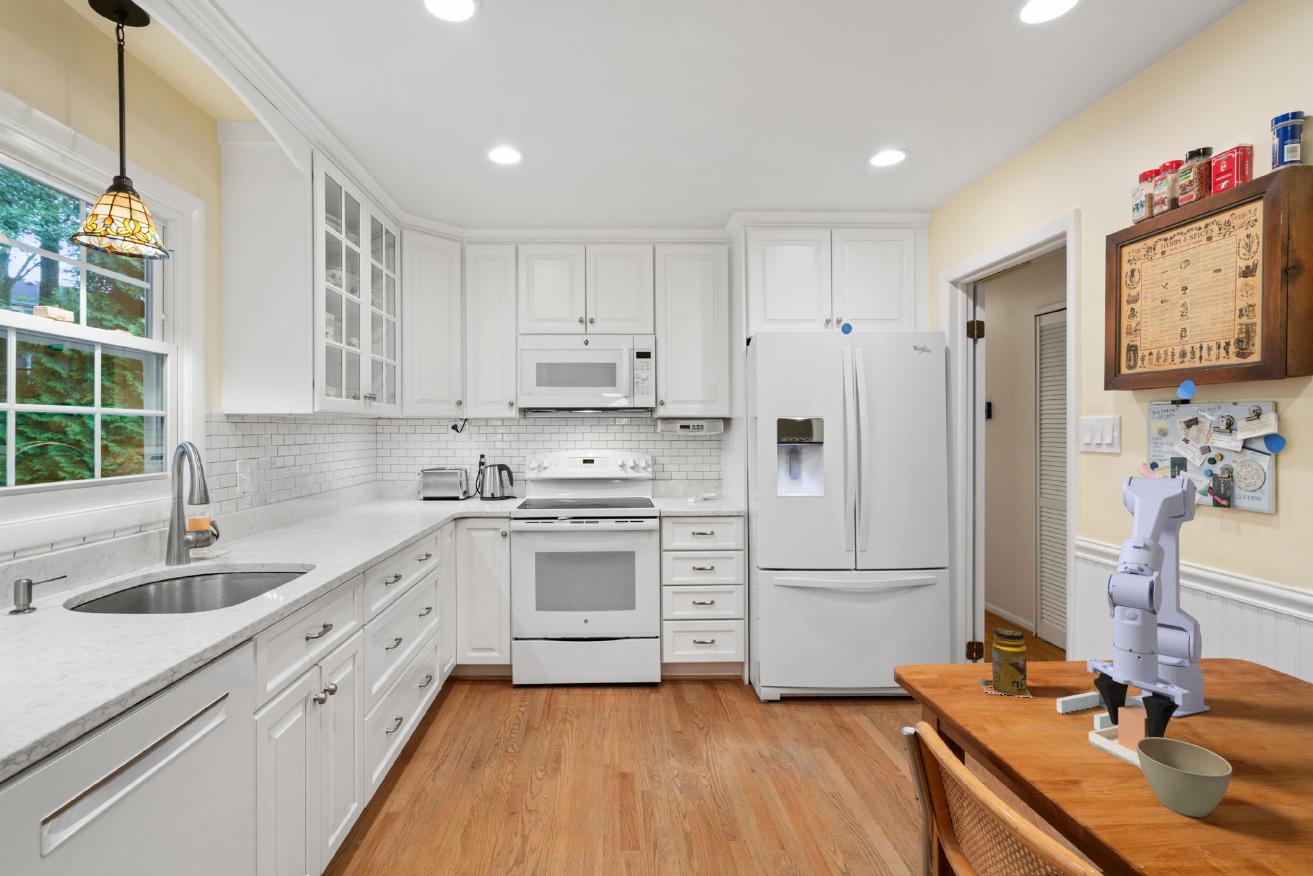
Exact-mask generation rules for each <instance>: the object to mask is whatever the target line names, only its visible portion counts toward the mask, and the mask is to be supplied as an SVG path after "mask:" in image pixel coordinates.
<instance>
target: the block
mask: <svg viewBox="0 0 1313 876" xmlns="http://www.w3.org/2000/svg"><path fill="white" fill-rule="evenodd" d="M1143 738H1149V736H1148V719H1147V714H1146V710H1145V708H1144V707H1142V706H1139V705H1137V704H1133V705H1128V706H1123V707H1119V708H1118V744H1120V745H1122V746H1124V747H1126V748H1128V749H1131V750H1133V751H1135V752H1137V748H1136V743H1137V741H1139V740H1140V739H1143Z"/></svg>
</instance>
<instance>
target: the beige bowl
mask: <svg viewBox="0 0 1313 876" xmlns="http://www.w3.org/2000/svg"><path fill="white" fill-rule="evenodd" d="M1136 748H1137V754H1138V758H1139V761H1140V764H1141V767H1142V769H1141V770H1142V772H1143V775H1144V776H1145V778H1146V781H1147V783H1148V785H1149V787H1150V789H1151V790H1152V792H1153V794H1155V797H1156V798H1157V799H1158V801H1160V804H1162V805H1163V806H1164V807H1165V808H1167V809H1168V810H1171V811H1173V812H1175V813H1176V814H1177V813H1178V814H1179V815H1183V816H1185V817H1191V818H1192V817H1193V818H1204V817H1206V816H1208V815H1209V814H1210V813H1212V811H1214V810H1215V808H1216V807H1217V806H1218V805H1219V804H1220V803H1221V801H1222V799H1224V797H1225V794H1226V792H1227V791H1228V789H1229V785H1230V783H1231V779H1232V775H1233V774H1232V773H1233V767H1232V765H1231V764H1230V762H1229V761H1228V760H1227V759H1225V758H1224V757H1222V756H1220V755H1219V754H1217V753H1216V752H1213V751H1211V750H1209V749H1207V748H1205V747H1202V746H1200V745H1196V744H1194V743H1190V742H1186V741H1182V740H1178V739H1173V738H1167V737H1163V738H1158V737H1150V738H1143V739H1140V740H1139V741H1137V743H1136Z"/></svg>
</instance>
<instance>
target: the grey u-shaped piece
mask: <svg viewBox="0 0 1313 876" xmlns="http://www.w3.org/2000/svg"><path fill="white" fill-rule="evenodd" d="M1094 692H1096V693H1098V694H1099V707H1100V706H1101V707H1100V708H1102V707H1103V708H1102V709H1104V708H1106V709H1105V710H1107V707H1106V704H1105V702H1104V699H1103V697H1102V695H1101V694H1100V692H1099V690H1096V691H1094ZM1132 697H1133V696H1128V695H1126V700H1125V706H1128V705H1133V704H1137V705H1139V706H1142V707H1144V708H1145V706H1144V703H1143V702H1142V701H1139V700H1137V699H1134V698H1132Z"/></svg>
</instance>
